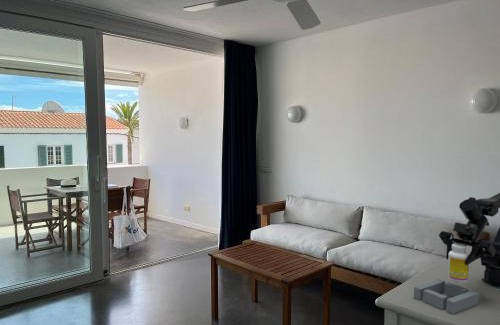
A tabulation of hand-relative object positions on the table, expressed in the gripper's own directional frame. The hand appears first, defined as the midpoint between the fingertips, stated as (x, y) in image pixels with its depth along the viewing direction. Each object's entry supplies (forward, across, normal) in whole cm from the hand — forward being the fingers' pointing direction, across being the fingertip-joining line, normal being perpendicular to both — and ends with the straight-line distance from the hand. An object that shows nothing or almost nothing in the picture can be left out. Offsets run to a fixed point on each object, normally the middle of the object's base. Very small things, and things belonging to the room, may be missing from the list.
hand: (456, 261), depth 141 cm
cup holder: (+14, 0, +5) cm, 14 cm away
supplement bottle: (+4, 0, +6) cm, 7 cm away
